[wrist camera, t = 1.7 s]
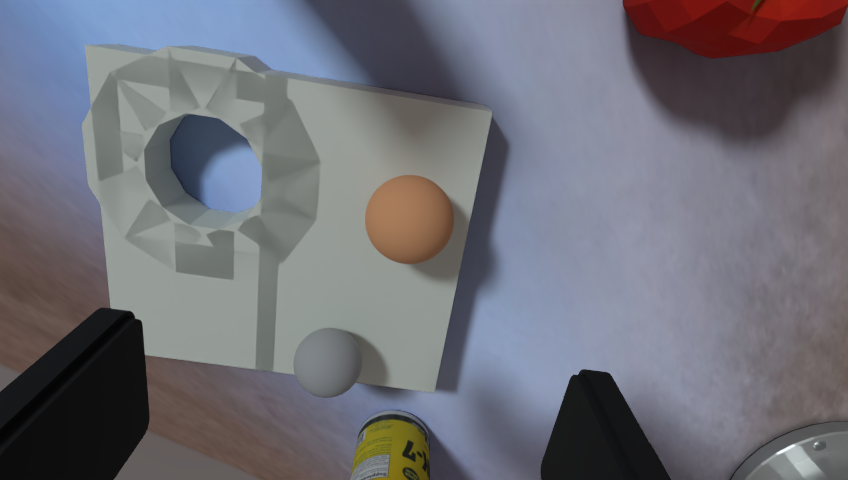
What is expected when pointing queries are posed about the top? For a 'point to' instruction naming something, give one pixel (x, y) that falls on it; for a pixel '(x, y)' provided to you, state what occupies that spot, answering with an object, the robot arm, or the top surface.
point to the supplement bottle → (392, 448)
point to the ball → (409, 219)
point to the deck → (275, 211)
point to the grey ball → (327, 362)
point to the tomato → (734, 23)
